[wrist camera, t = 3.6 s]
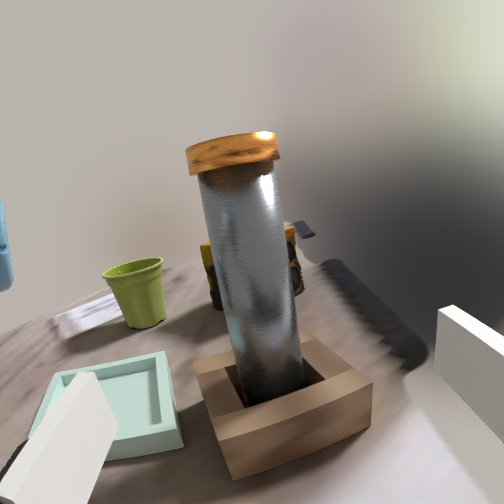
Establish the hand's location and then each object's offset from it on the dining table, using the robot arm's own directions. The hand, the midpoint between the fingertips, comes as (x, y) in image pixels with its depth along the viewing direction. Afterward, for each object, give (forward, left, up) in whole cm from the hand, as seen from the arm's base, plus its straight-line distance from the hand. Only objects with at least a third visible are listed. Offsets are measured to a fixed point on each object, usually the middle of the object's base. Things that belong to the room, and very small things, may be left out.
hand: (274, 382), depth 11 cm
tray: (-11, +15, -10) cm, 22 cm away
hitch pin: (+3, +9, -10) cm, 14 cm away
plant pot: (-7, +37, -10) cm, 40 cm away
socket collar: (+3, +9, -10) cm, 14 cm away
